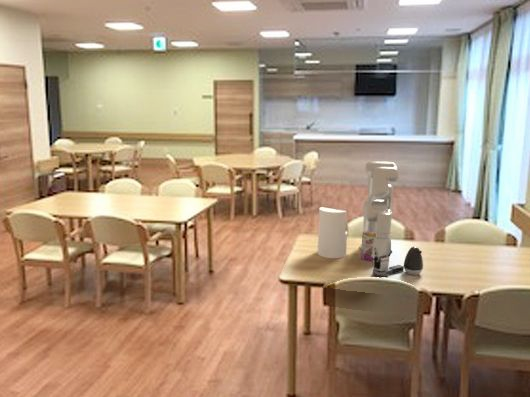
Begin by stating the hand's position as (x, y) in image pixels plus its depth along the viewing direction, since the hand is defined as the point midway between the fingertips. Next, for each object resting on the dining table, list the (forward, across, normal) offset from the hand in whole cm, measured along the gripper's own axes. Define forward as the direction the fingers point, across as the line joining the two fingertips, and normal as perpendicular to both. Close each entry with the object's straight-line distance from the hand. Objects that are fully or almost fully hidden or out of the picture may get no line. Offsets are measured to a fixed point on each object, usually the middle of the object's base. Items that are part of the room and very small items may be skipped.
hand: (380, 266), depth 270 cm
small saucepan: (+5, -6, 0) cm, 8 cm away
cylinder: (+5, -2, -42) cm, 42 cm away
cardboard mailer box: (+1, 0, 0) cm, 1 cm away
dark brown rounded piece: (+5, -18, +7) cm, 20 cm away
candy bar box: (+5, -15, -22) cm, 27 cm away
